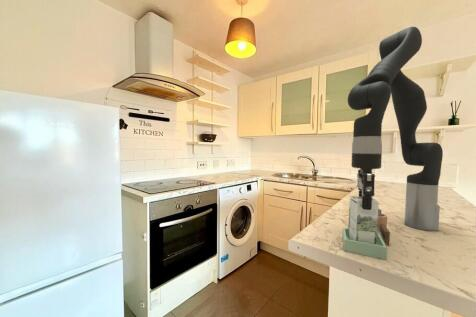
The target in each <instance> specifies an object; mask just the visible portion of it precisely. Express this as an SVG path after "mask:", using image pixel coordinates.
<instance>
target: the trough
mask: <svg viewBox="0 0 476 317" xmlns="http://www.w3.org/2000/svg"><path fill="white" fill-rule="evenodd" d="M342 245H343V252H346V253H347V252H348V253H354V254H358V255H362V256H367V257H371V258H377V259H382V260H387V256H388V254H387V253H388V247H387V245H385V243H384V241H383V239H382V238H381V236H380V234H379V233H377V238H376V244H370V243H365V242H359V241H354V240H349V239H348V228H347V227H342Z"/></svg>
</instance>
